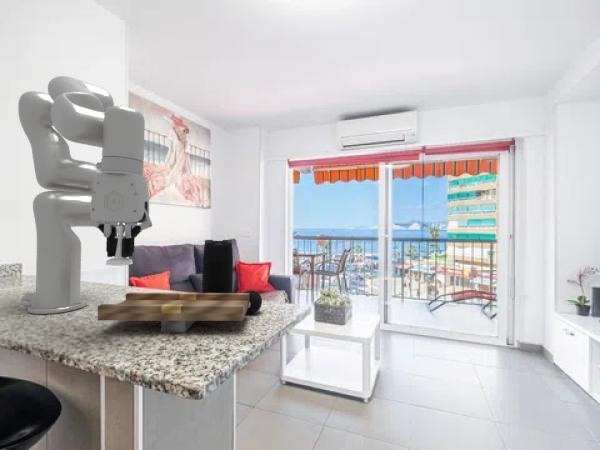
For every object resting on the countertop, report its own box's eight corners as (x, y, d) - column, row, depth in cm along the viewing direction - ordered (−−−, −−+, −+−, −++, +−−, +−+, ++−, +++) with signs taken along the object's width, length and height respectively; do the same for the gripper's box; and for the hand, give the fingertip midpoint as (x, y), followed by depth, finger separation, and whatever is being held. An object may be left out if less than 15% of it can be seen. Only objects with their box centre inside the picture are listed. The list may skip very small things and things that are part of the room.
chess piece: (138, 263, 67) (139, 217, 67) (122, 266, 62) (123, 216, 62) (117, 261, 68) (118, 216, 67) (99, 264, 63) (101, 215, 63)
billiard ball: (264, 310, 85) (264, 288, 85) (257, 317, 79) (258, 293, 79) (243, 309, 86) (244, 287, 86) (235, 315, 80) (235, 292, 80)
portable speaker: (231, 302, 93) (232, 239, 93) (232, 310, 85) (234, 241, 85) (202, 303, 91) (203, 239, 91) (200, 312, 82) (202, 240, 82)
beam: (97, 334, 64) (97, 306, 64) (128, 316, 77) (128, 292, 77) (242, 334, 66) (242, 306, 66) (248, 316, 79) (249, 293, 79)
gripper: (71, 164, 61) (68, 257, 61) (153, 167, 61) (150, 260, 61) (95, 170, 68) (93, 253, 68) (168, 173, 69) (165, 256, 69)
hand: (120, 255), depth 65 cm, fingers closed on chess piece
